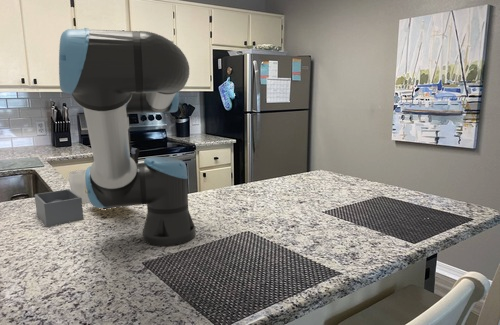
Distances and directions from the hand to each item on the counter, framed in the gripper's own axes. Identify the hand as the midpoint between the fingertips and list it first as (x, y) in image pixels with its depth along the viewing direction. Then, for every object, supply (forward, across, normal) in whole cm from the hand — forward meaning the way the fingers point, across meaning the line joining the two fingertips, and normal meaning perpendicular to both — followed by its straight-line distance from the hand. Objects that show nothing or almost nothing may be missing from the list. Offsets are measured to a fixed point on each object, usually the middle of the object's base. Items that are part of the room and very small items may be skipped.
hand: (122, 201), depth 125 cm
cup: (+7, +4, -30) cm, 31 cm away
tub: (+7, +16, -15) cm, 23 cm away
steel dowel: (+6, +16, -18) cm, 25 cm away
